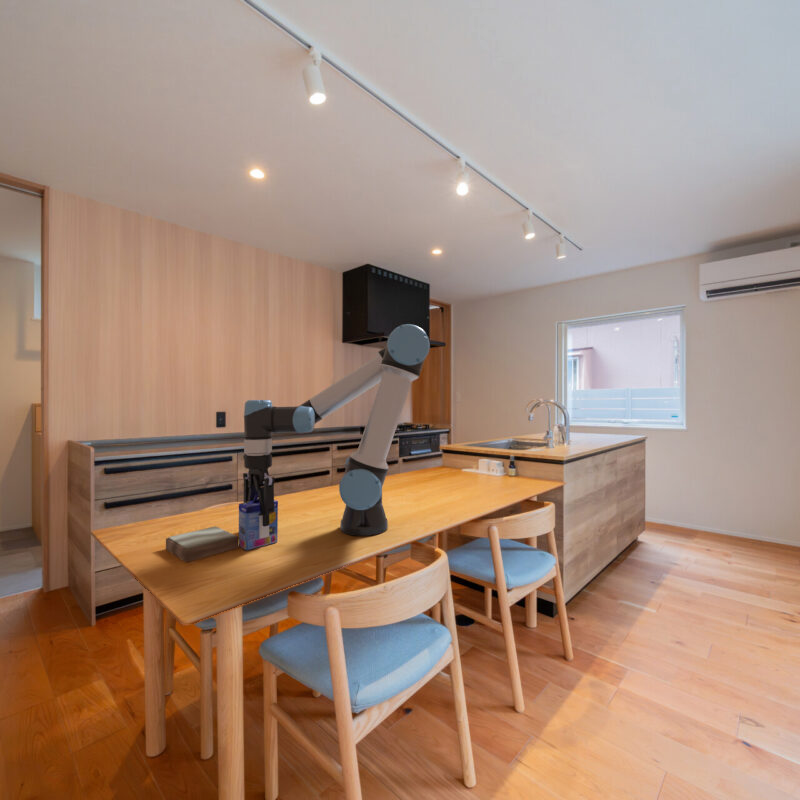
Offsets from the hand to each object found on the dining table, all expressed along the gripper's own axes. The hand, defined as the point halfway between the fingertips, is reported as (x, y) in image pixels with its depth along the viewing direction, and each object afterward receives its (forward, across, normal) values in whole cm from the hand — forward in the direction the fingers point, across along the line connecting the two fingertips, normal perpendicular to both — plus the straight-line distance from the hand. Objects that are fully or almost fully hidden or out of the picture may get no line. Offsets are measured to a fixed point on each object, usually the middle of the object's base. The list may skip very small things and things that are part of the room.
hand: (258, 534), depth 117 cm
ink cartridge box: (+3, 0, 0) cm, 3 cm away
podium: (+3, +9, +12) cm, 15 cm away
